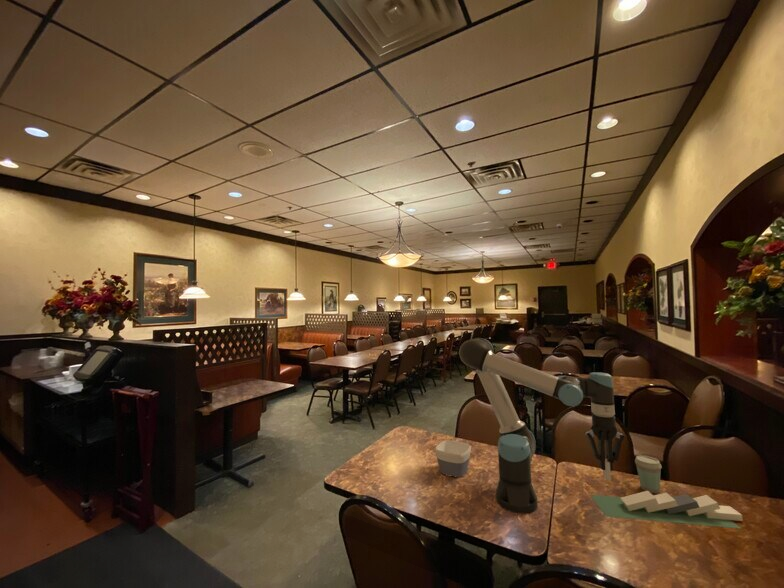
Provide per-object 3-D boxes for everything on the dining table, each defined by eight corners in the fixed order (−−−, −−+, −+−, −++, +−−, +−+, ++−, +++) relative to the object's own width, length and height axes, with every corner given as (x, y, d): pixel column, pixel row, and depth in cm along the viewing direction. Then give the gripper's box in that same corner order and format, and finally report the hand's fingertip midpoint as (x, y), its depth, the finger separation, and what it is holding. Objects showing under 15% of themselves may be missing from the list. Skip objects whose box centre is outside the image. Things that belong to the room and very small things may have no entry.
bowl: (475, 468, 151) (474, 444, 152) (464, 483, 138) (463, 456, 139) (445, 461, 159) (444, 438, 160) (431, 474, 146) (431, 449, 147)
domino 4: (707, 511, 110) (742, 514, 108) (696, 503, 115) (729, 506, 113) (707, 518, 110) (742, 521, 108) (697, 509, 115) (730, 512, 113)
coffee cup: (669, 496, 124) (666, 464, 125) (644, 495, 125) (641, 463, 126) (655, 485, 132) (653, 455, 133) (632, 483, 134) (630, 454, 135)
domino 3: (686, 510, 111) (717, 502, 110) (677, 502, 116) (706, 494, 115) (689, 516, 111) (720, 508, 109) (679, 507, 116) (709, 500, 114)
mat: (605, 517, 112) (605, 516, 112) (589, 495, 126) (589, 494, 126) (741, 529, 104) (741, 528, 104) (709, 505, 118) (708, 503, 118)
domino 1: (626, 505, 115) (655, 498, 114) (620, 497, 120) (647, 490, 118) (629, 511, 115) (658, 503, 113) (622, 503, 120) (650, 496, 118)
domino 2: (645, 507, 114) (675, 500, 112) (637, 499, 119) (666, 492, 117) (648, 512, 114) (678, 506, 112) (640, 504, 119) (668, 498, 117)
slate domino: (666, 508, 113) (696, 501, 111) (657, 500, 118) (686, 493, 116) (669, 514, 112) (699, 507, 111) (660, 506, 117) (689, 499, 116)
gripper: (588, 416, 119) (591, 482, 118) (627, 418, 116) (632, 485, 115) (580, 410, 127) (584, 472, 125) (617, 412, 124) (621, 475, 122)
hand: (607, 478), depth 120 cm, fingers closed
